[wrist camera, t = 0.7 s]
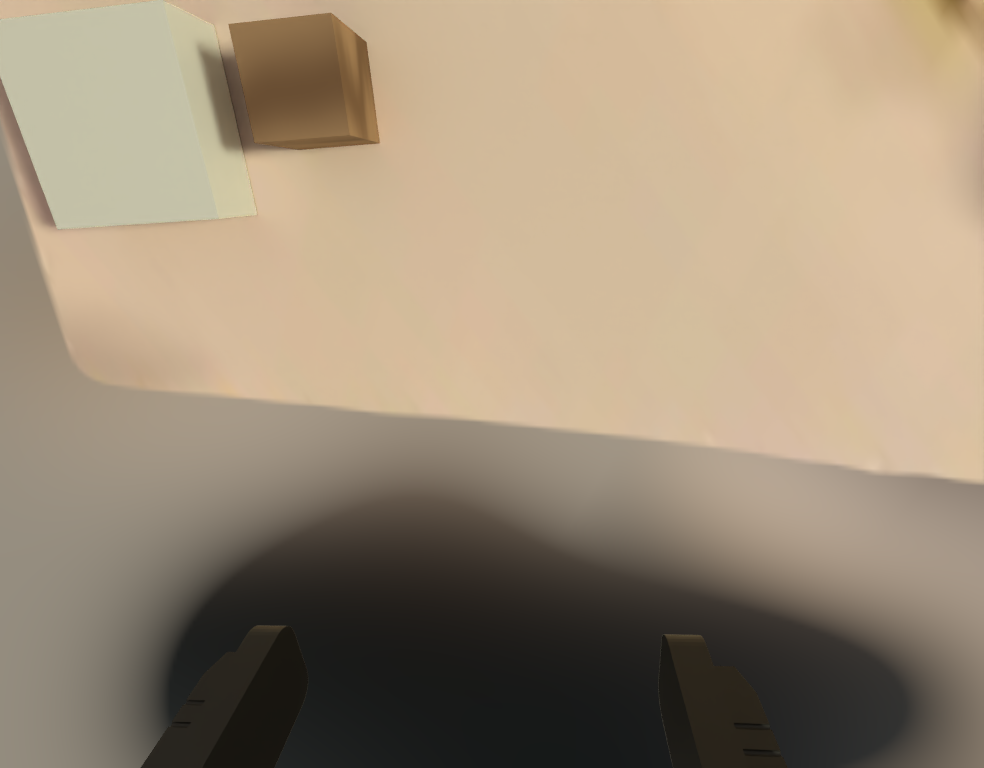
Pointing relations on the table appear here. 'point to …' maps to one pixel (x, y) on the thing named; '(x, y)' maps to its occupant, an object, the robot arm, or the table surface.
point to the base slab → (126, 115)
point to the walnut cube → (305, 82)
